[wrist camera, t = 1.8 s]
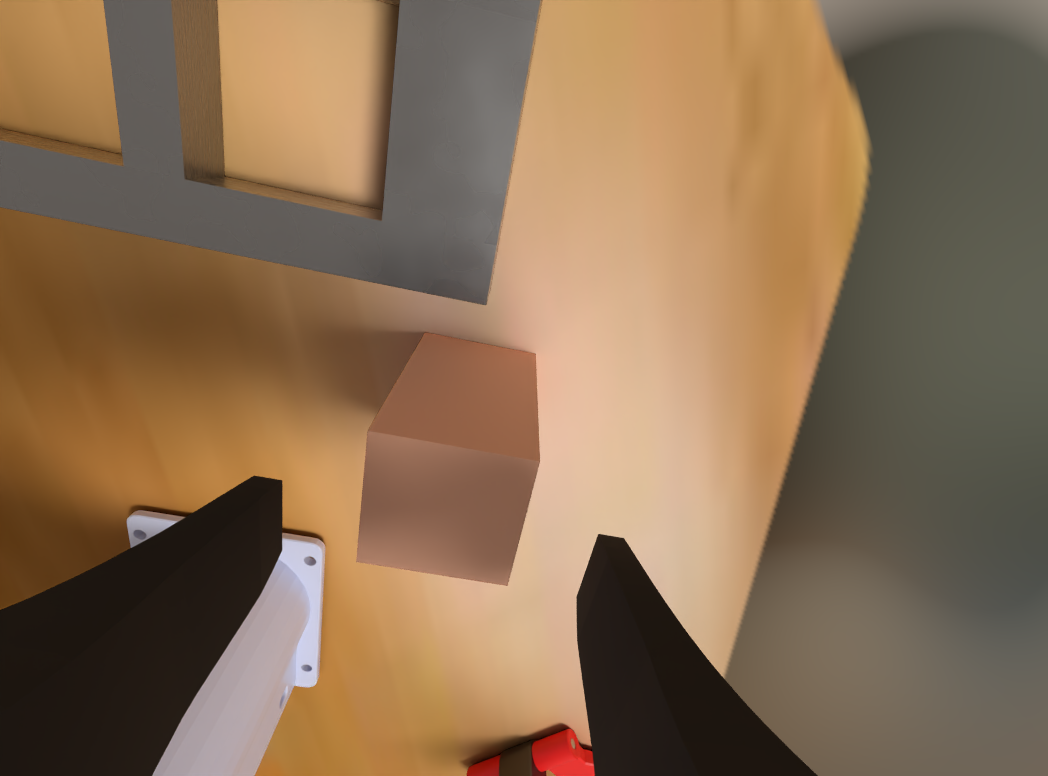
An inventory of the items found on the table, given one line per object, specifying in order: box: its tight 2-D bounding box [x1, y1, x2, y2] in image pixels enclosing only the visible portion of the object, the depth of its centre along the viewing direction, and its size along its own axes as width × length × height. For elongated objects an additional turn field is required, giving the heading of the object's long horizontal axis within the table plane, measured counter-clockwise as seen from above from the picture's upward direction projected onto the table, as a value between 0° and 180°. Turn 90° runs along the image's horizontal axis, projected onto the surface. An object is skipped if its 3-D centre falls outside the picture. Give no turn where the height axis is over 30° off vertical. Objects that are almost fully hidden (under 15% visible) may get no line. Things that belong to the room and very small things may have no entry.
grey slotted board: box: [0, 0, 542, 305], centre depth 13 cm, size 9×26×2 cm, turn 78°
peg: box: [356, 332, 540, 586], centre depth 15 cm, size 4×4×7 cm
